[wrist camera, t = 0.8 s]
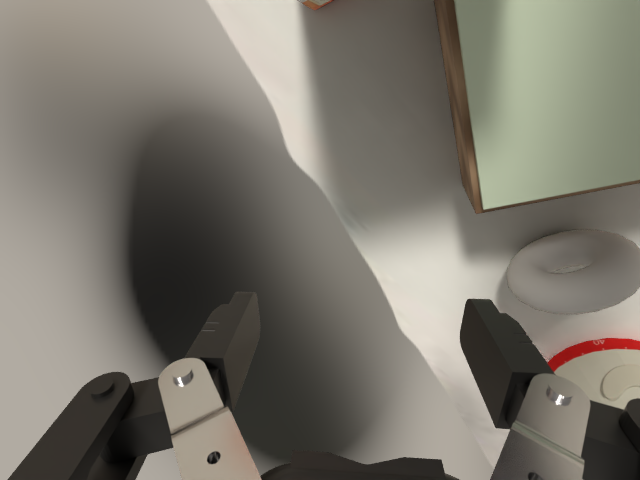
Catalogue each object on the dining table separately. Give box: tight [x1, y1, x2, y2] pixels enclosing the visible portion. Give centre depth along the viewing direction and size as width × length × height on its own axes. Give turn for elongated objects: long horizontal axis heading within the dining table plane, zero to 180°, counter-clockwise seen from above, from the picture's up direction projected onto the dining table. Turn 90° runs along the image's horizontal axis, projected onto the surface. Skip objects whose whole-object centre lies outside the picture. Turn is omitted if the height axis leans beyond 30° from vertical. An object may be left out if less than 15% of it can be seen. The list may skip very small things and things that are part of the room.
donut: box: [506, 230, 640, 314], centre depth 30 cm, size 10×4×10 cm, turn 120°
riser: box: [434, 0, 640, 214], centre depth 24 cm, size 16×16×8 cm
